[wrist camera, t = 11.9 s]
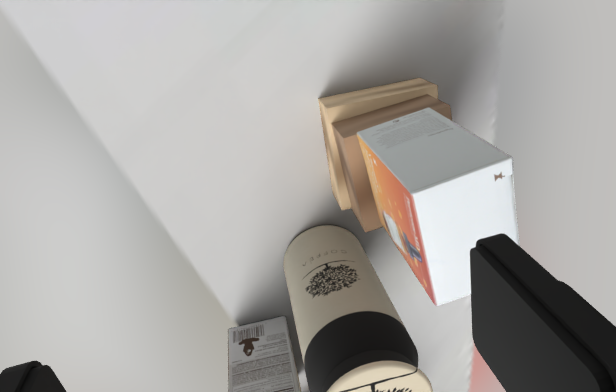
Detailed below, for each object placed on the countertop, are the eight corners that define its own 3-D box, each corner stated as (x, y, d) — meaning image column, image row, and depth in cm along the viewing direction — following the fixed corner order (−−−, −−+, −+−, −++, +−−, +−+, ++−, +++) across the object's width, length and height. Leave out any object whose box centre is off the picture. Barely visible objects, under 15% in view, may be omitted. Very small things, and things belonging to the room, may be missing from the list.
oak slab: (317, 97, 39) (326, 108, 35) (418, 76, 39) (437, 85, 36) (332, 191, 42) (341, 210, 39) (423, 171, 43) (441, 187, 40)
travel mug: (361, 287, 47) (432, 442, 31) (285, 297, 46) (317, 463, 30) (362, 219, 44) (443, 353, 28) (280, 227, 43) (314, 372, 26)
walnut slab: (331, 123, 35) (343, 138, 32) (427, 94, 36) (450, 105, 32) (352, 210, 39) (365, 232, 35) (439, 182, 39) (461, 202, 36)
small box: (354, 130, 32) (409, 190, 22) (429, 104, 32) (515, 153, 22) (379, 224, 35) (435, 310, 26) (446, 200, 35) (526, 278, 26)
